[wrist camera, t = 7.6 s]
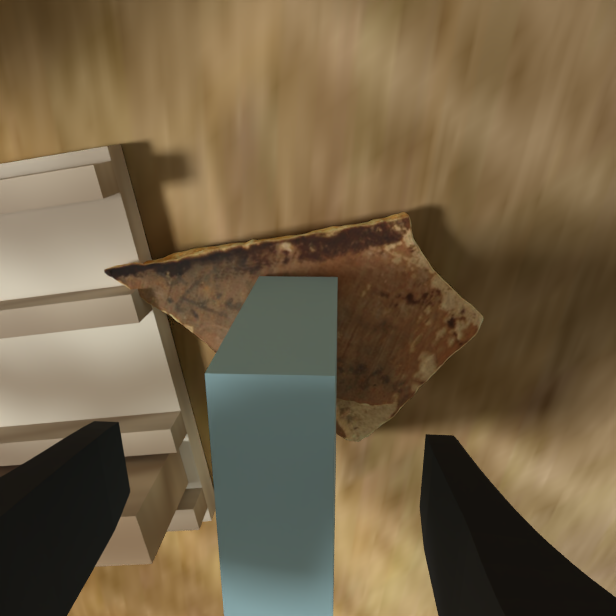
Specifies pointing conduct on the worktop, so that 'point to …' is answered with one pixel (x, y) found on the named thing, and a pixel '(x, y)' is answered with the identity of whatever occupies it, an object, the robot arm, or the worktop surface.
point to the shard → (350, 306)
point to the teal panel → (276, 449)
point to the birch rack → (86, 322)
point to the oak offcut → (146, 508)
